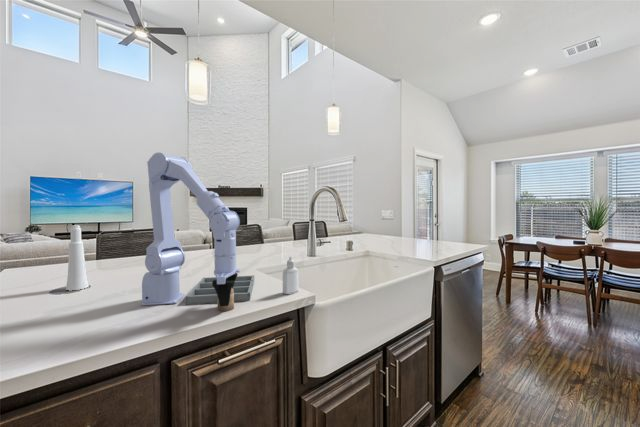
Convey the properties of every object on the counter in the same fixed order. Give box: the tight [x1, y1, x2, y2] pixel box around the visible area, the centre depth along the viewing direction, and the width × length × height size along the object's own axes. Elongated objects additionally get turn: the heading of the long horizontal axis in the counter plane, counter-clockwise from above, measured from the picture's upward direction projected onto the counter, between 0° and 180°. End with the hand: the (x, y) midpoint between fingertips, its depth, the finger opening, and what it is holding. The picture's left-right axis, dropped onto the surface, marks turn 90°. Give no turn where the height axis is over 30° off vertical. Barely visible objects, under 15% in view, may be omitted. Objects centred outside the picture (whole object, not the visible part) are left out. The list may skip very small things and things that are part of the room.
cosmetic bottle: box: [65, 224, 89, 292], centre depth 95 cm, size 6×6×22 cm
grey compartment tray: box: [185, 275, 255, 305], centre depth 92 cm, size 18×21×2 cm
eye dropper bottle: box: [282, 256, 299, 295], centre depth 91 cm, size 4×6×12 cm
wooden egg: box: [217, 288, 235, 313], centre depth 77 cm, size 4×4×7 cm
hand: (225, 302), depth 77 cm, fingers closed on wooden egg, 4 cm apart
